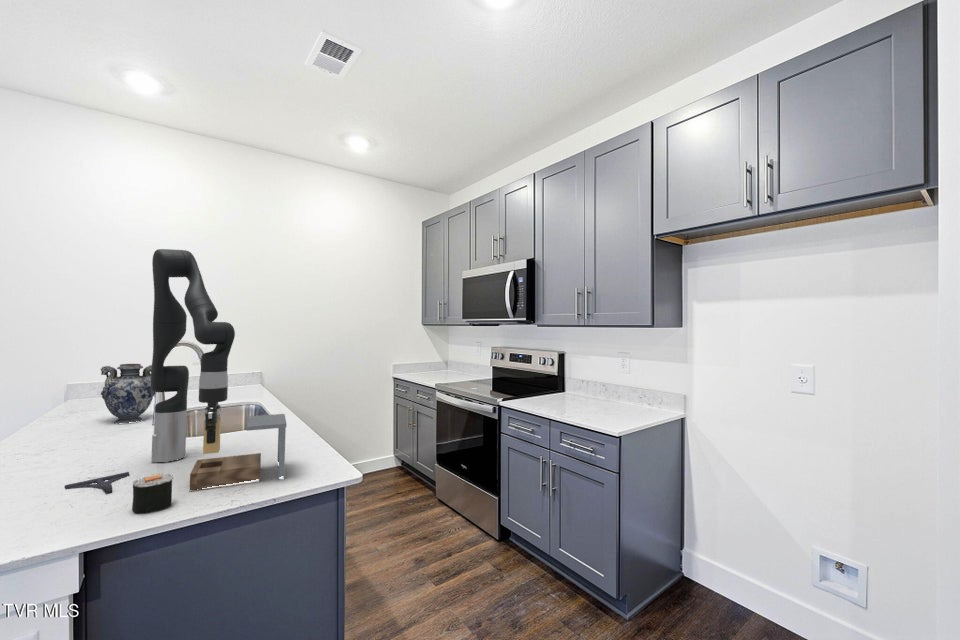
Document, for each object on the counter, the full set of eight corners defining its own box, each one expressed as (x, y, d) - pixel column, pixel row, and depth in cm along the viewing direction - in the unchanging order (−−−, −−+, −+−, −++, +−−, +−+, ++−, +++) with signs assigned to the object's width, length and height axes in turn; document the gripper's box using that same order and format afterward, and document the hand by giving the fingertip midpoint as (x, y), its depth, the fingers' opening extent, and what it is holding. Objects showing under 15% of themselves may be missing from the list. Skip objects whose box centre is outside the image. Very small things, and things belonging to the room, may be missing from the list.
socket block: (189, 491, 119) (190, 474, 120) (196, 475, 132) (197, 459, 132) (259, 481, 128) (260, 465, 128) (260, 467, 140) (260, 453, 140)
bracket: (74, 504, 111) (74, 494, 111) (64, 490, 120) (64, 480, 120) (141, 488, 122) (141, 479, 123) (127, 476, 132) (128, 468, 132)
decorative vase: (155, 415, 215) (157, 361, 215) (157, 422, 200) (158, 365, 200) (100, 420, 201) (101, 363, 201) (97, 429, 187) (99, 367, 187)
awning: (244, 485, 125) (246, 426, 125) (247, 468, 139) (248, 416, 140) (284, 479, 130) (286, 423, 130) (283, 464, 144) (284, 413, 145)
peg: (218, 452, 127) (219, 419, 127) (202, 454, 125) (204, 421, 125) (219, 449, 130) (220, 417, 131) (204, 450, 129) (205, 418, 129)
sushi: (175, 506, 110) (176, 476, 110) (134, 517, 103) (136, 485, 103) (168, 497, 115) (169, 469, 115) (129, 507, 109) (130, 476, 109)
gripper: (225, 388, 124) (223, 445, 123) (229, 382, 136) (227, 434, 136) (195, 389, 120) (193, 448, 120) (202, 383, 133) (200, 437, 132)
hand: (211, 440), depth 128 cm, fingers closed on peg, 4 cm apart
